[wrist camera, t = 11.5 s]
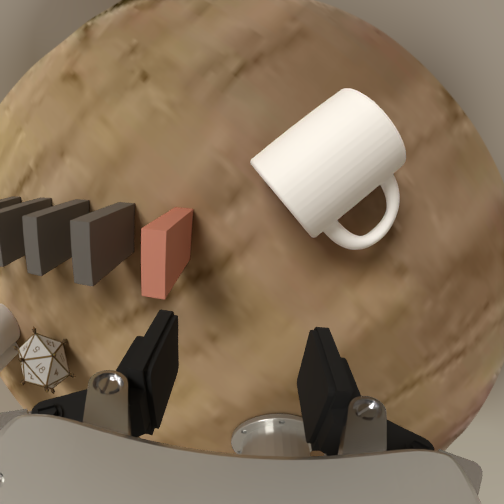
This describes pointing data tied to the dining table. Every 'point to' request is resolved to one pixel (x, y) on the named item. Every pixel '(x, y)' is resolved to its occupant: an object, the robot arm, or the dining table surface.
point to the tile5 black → (9, 201)
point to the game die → (43, 361)
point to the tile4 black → (16, 228)
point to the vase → (7, 336)
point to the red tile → (165, 251)
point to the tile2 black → (101, 241)
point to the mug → (336, 166)
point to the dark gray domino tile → (50, 235)
